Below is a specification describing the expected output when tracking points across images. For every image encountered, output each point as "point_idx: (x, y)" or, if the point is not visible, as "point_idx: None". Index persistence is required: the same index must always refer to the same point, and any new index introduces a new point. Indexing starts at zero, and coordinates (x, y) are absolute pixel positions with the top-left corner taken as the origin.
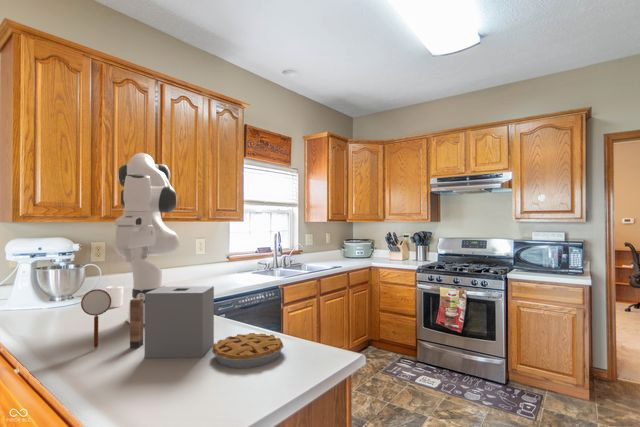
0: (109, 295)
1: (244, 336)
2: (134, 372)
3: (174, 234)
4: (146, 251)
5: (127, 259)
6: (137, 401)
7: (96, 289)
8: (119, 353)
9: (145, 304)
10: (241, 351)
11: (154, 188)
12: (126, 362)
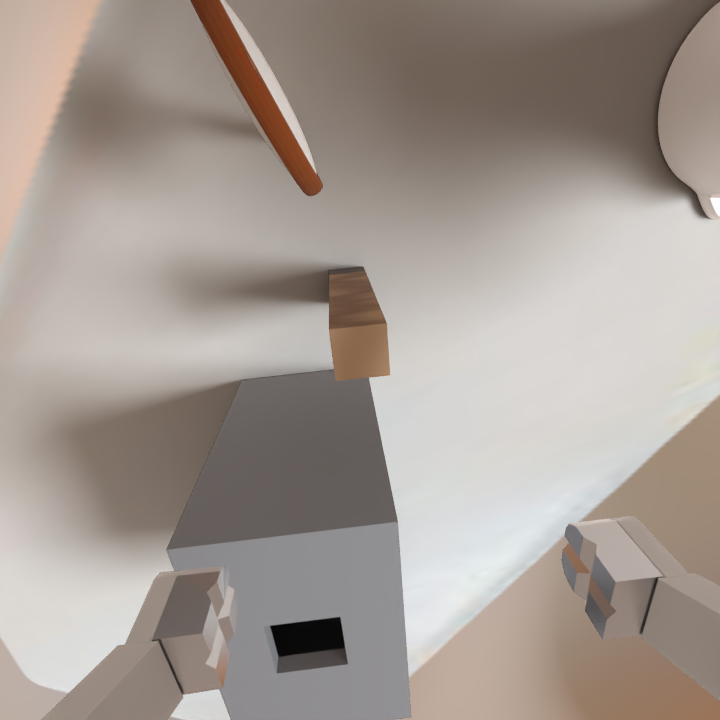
0: (304, 185)
1: None
2: (137, 413)
3: None
4: (702, 672)
5: (148, 614)
6: (4, 506)
7: (240, 74)
8: (269, 268)
9: (187, 505)
10: None
11: None
12: (197, 346)
